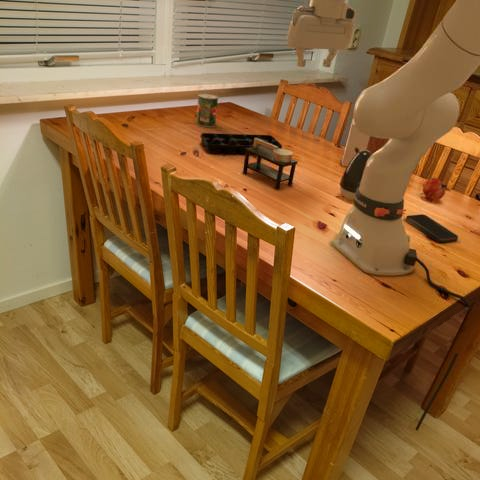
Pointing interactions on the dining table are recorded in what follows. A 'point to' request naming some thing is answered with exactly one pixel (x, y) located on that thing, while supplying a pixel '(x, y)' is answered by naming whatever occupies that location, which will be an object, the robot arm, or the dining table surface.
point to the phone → (431, 228)
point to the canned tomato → (207, 110)
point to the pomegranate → (433, 189)
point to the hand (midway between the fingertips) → (313, 66)
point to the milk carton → (354, 143)
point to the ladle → (275, 151)
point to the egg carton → (233, 142)
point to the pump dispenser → (354, 174)
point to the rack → (267, 170)
